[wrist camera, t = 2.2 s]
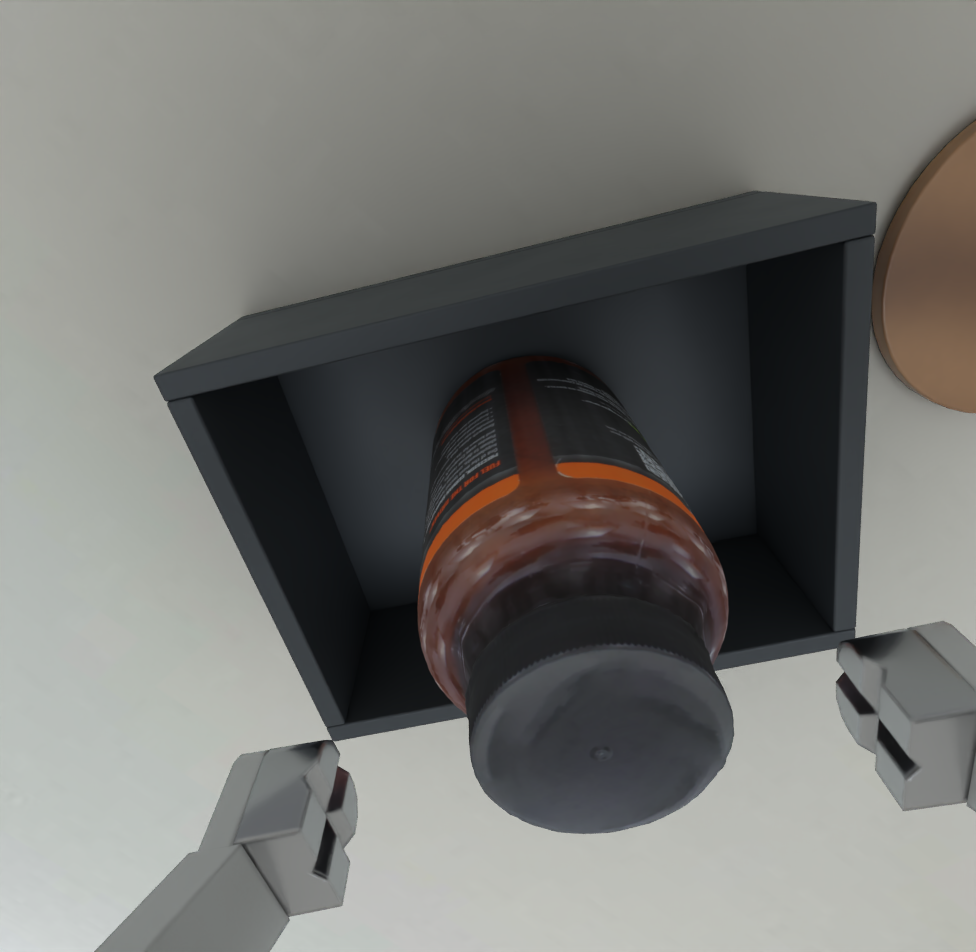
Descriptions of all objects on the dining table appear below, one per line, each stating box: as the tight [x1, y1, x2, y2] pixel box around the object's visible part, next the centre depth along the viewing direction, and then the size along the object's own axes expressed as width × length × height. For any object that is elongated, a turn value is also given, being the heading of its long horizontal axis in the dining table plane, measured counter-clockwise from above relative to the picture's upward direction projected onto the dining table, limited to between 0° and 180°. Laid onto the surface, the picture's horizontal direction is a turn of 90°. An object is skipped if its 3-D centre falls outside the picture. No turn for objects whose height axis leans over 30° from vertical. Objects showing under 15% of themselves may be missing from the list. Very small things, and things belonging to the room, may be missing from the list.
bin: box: [154, 191, 877, 741], centre depth 17 cm, size 11×15×6 cm
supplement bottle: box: [418, 356, 734, 834], centre depth 14 cm, size 6×6×11 cm
